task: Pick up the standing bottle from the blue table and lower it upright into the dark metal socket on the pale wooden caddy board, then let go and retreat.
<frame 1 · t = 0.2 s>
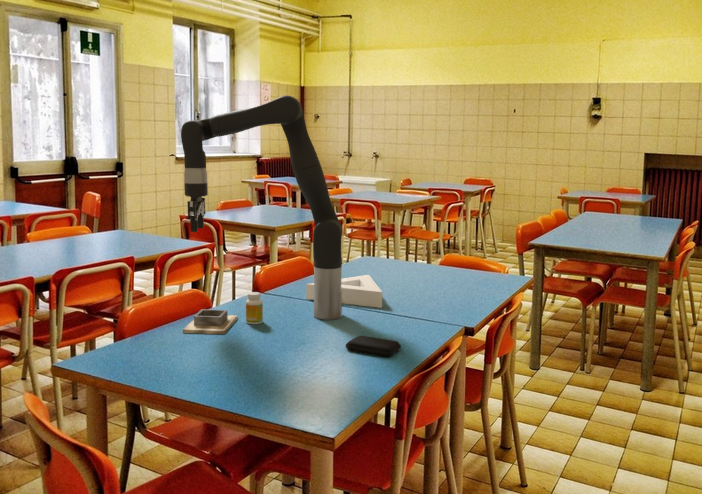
hand: (197, 230, 232), 29 cm above the table, fingers open, 8 cm apart
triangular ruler: (356, 297, 265), on the table
caddy: (211, 325, 222), on the table
carrying case or bag: (374, 351, 200), on the table
supplement bottle: (254, 322, 226), on the table
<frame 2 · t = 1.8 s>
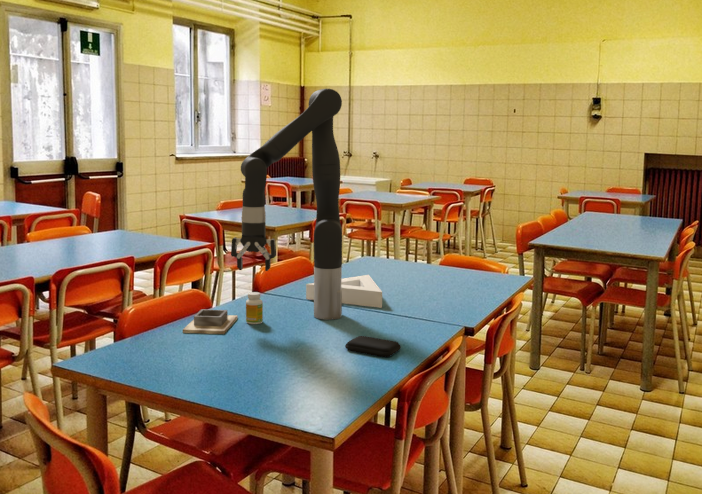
hand: (253, 270, 223), 17 cm above the table, fingers open, 8 cm apart
nothing on the table moved.
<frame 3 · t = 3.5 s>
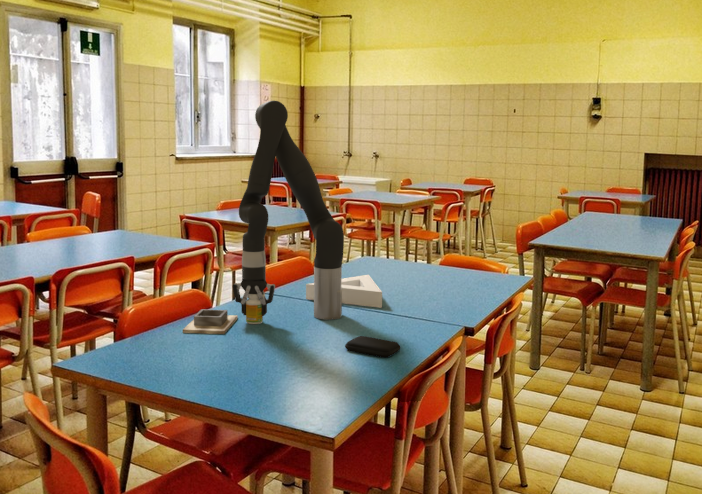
hand: (254, 314, 226), 3 cm above the table, fingers closed on supplement bottle, 5 cm apart
supplement bottle: (254, 322, 226), on the table, touching gripper
everything else where it was.
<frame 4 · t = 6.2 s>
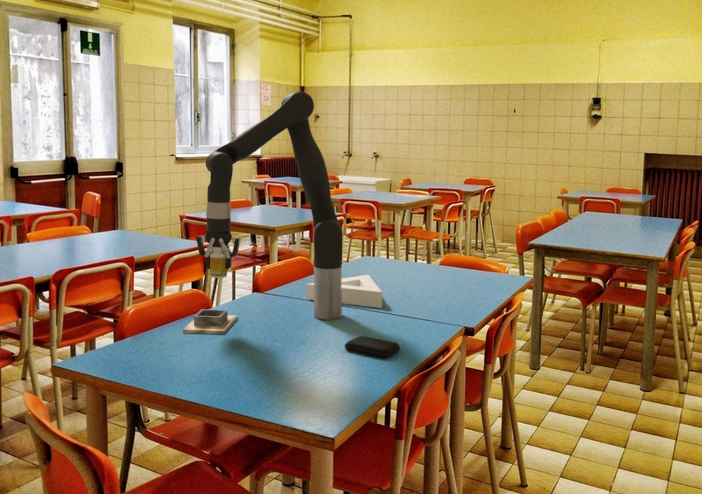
hand: (218, 268, 220), 18 cm above the table, fingers closed on supplement bottle, 5 cm apart
supplement bottle: (218, 277, 220), point 16 cm above the table, touching gripper
everything else where it was.
when the fingers open (5 cm above the table, at t = 9.2 s): supplement bottle drops 2 cm, resting on caddy.
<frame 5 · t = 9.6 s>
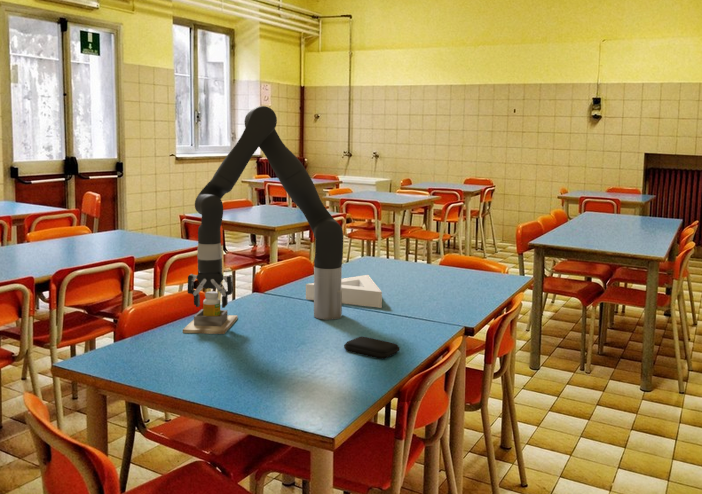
hand: (210, 306, 221), 6 cm above the table, fingers open, 8 cm apart
supplement bottle: (212, 322, 222), point 1 cm above the table, touching caddy
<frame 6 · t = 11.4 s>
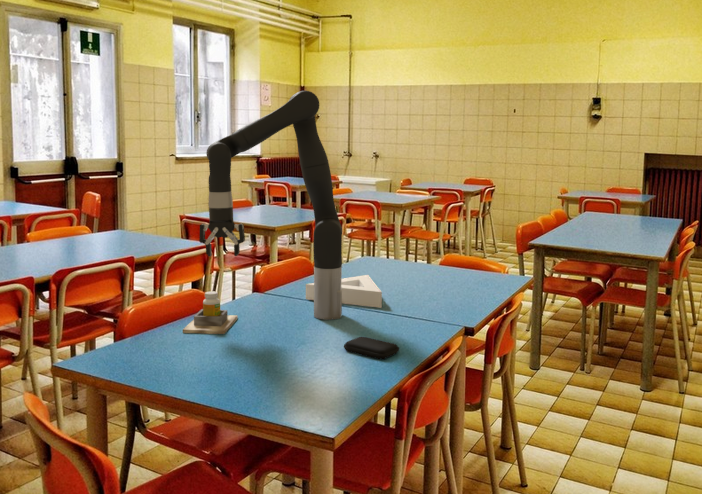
hand: (223, 255, 223), 22 cm above the table, fingers open, 8 cm apart
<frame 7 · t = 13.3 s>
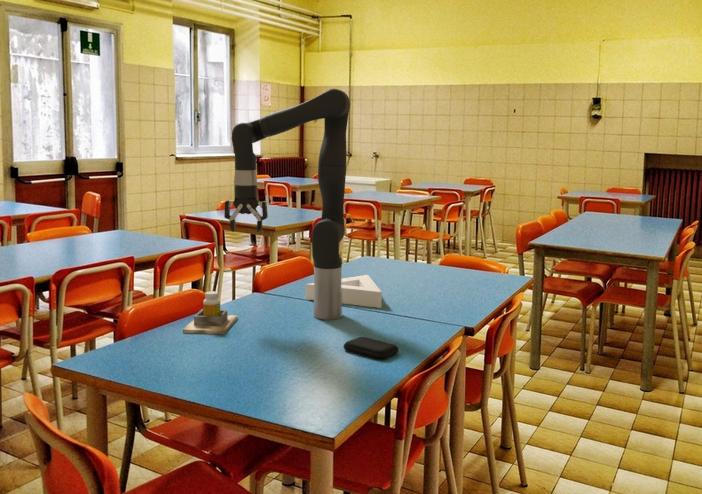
hand: (246, 231, 233), 28 cm above the table, fingers open, 8 cm apart
at the end: supplement bottle 0.3 cm off-centre on the caddy, point 0.8 cm above the caddy's base; supplement bottle tilted 0°; the gripper is holding nothing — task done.
